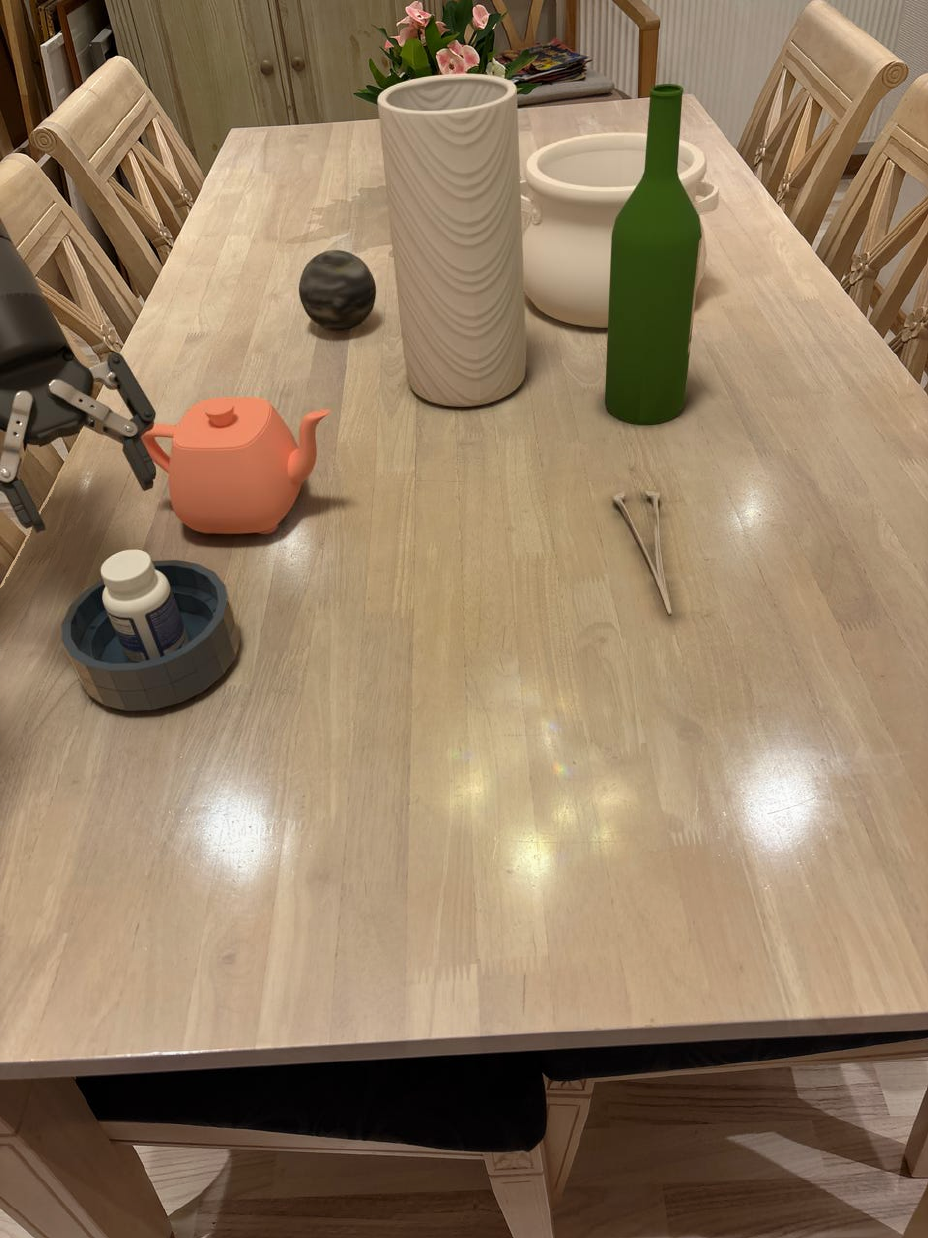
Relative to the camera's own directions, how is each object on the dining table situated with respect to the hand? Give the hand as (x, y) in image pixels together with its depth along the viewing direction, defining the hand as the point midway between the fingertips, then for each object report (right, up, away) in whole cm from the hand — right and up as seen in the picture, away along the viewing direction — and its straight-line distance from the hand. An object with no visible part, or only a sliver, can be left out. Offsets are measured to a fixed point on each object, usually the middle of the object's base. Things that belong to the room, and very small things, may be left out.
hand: (96, 507), depth 74 cm
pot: (+48, +35, +58) cm, 83 cm away
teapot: (+6, +3, +26) cm, 27 cm away
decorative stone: (+12, +30, +56) cm, 65 cm away
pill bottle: (+2, -11, +10) cm, 15 cm away
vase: (+28, +20, +43) cm, 55 cm away
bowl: (+2, -12, +10) cm, 16 cm away
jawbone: (+45, -3, +17) cm, 49 cm away
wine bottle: (+49, +16, +36) cm, 63 cm away
